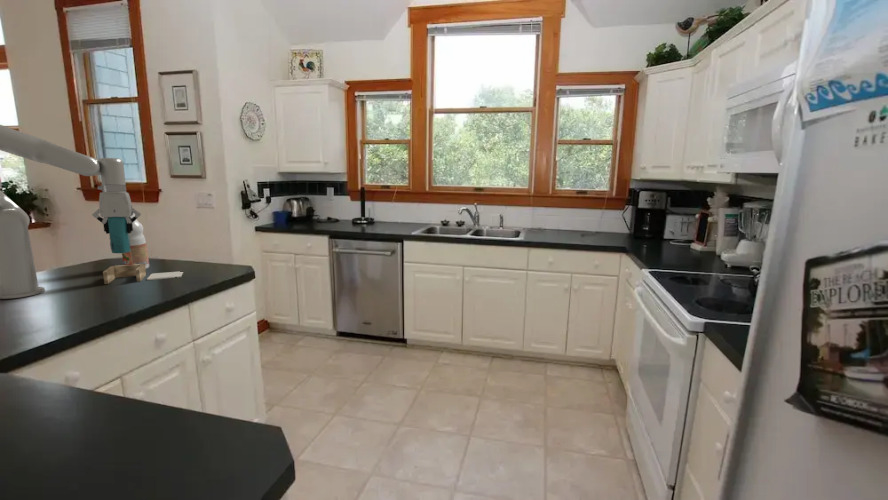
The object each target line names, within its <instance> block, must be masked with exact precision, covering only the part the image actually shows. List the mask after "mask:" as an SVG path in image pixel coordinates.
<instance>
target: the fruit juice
mask: <svg viewBox="0 0 888 500" xmlns="http://www.w3.org/2000/svg"><path fill="white" fill-rule="evenodd" d="M134 216H135V214H134V213H133V215H132V216H130V217H131V218H133V217H134ZM127 224H128V221H127ZM132 225H133V231H132V232H131V233H129V240H130V241H129V242H130V246H131V247H130V252H127V253H121V257H122V262H123V265H135V264H145V267H146V269H148V268H149V267H150V260H149V253H148V247H147V240H146V237H145V235H144V229H145V228H144V226H143V224H142V223H141V222H139V220H138V218H137V219H136V220H135V221H134V222H133V223H132Z"/></svg>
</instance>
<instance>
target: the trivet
mask: <svg viewBox="0 0 888 500" xmlns="http://www.w3.org/2000/svg"><path fill="white" fill-rule="evenodd" d="M183 274H184V272H180V271H171V272H169V271H168V272H155V273H151V274H150V275H149V276H148V277H147V278H146V280H147V281H151V280H153V281H156V280H163V279H164V280H165V279H166V280H167V279H174V278H175V277H177V278H182V275H183ZM175 279H176V278H175Z"/></svg>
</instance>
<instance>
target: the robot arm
mask: <svg viewBox="0 0 888 500" xmlns="http://www.w3.org/2000/svg"><path fill="white" fill-rule="evenodd" d="M0 151H2V152H5V153H8V154H11V155H15V156H17V157H21V158H23V159H26V160H29V161H33V162H36V163H40V164H45V165H49V166H53V167H57V168H59V169H62V170H66V171H69V172H72V173H75V174H78V175H81V176H84V177H93V176H100V179H101V180H100V181H101V184H100V185H98V186H97V190H100V191H102V192H99V197H98V198H99V199H98V201H99V203H98V205H99V206H98V207H99V208H98V209H97V210H96V211H94V212H93V213H92V214H91V215H92V217H93V218H95V219H96V220H98V221H99V222H100V223H101V224H102V225H103V231H104V233H106V235H108V234H109V227H108V220H107V219H108V218H109V217H125V218H126V220H127V221H128V224H127V231H128V233H131V232H132V231H133V225H132V223H133V222H134V221H135V220H136V219H137V220H138V218H139V217H141V216H142V214H141V212H139V211H138V210H137V209H135V208H133V204H132V200H131V197H130V193H129V192H127V186H126V185H127V184H126V177H125V167H124V161H123V160H122V159H121V158H116V157H114V158H113V157H102V158H97V157H92V156H89V155H86V154H83V153H80V152H77V151H74V150H71V149H68V148H66V147H63V146H61V145H57V144H55V143H52V142H50V141H48V140H45V139H43V138H40V137H37V136H33V135H31V134H28V133H25V132H23V131H20V130H16V129H14V128H11V127H8V126H5V125H2V124H0ZM114 210H115V211H114ZM133 213H134V214H135V216H134V217H133V218H131V217H130V216H132V215H133ZM30 221H31V219H30V217H29V215H28V214H27V212H25V211H24V209H22V208H21V207H20V206H19V205H17V204H16V203H15V202H14V201H13V200H12V199H11V198H10V197H9V196H7V194H5V193H4V192H3V191H2V190H0V300H1V299H3V300H5V299H6V300H7V299H18V298H19V299H20V298H25V297H26V298H27V297H31V296H35V295H39V294H42V293H44V292H45V291H46V289H45V287H43V286H39V282H38V277H37V270H36V264H35V259H34V252H33V247H32V243H31V238H30V233H29V232H30V231H29V225H30Z"/></svg>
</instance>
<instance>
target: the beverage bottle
mask: <svg viewBox="0 0 888 500" xmlns="http://www.w3.org/2000/svg"><path fill="white" fill-rule="evenodd" d="M114 211H115V210H114ZM107 220H108V227H109V233H108V234H109V245H110V251H111V254H122V253H127V252H130V247H131V246H130V242H129V241H130V240H129V233H128V231H127V220H126V218H125V217H109V218H108V219H107Z"/></svg>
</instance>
